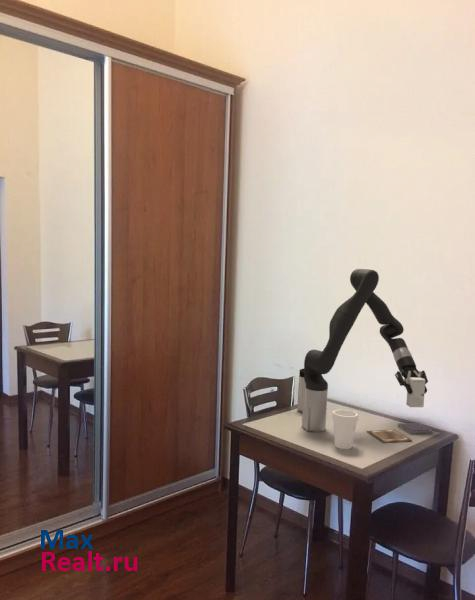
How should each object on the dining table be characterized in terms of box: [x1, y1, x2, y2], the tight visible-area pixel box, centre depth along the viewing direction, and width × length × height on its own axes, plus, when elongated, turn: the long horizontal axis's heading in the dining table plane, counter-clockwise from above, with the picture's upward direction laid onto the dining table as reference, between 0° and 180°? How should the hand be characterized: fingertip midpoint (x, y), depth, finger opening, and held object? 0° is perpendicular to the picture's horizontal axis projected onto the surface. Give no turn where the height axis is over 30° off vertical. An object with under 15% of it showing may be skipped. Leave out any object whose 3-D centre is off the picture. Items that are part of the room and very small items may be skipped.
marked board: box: [366, 429, 413, 444], centre depth 210 cm, size 13×13×1 cm
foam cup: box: [331, 409, 359, 450], centre depth 196 cm, size 10×9×13 cm
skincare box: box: [405, 377, 426, 408], centre depth 219 cm, size 6×4×12 cm
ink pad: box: [397, 422, 433, 435], centre depth 219 cm, size 10×10×1 cm
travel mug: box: [297, 368, 306, 414], centre depth 240 cm, size 6×7×20 cm
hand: (418, 393), depth 217 cm, fingers closed on skincare box, 6 cm apart
